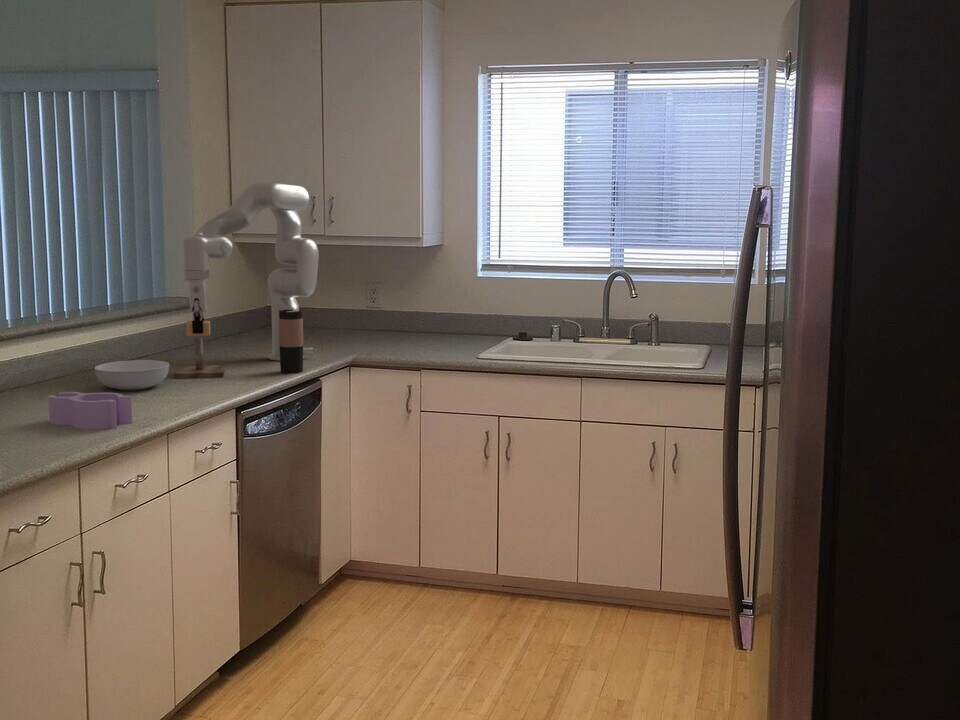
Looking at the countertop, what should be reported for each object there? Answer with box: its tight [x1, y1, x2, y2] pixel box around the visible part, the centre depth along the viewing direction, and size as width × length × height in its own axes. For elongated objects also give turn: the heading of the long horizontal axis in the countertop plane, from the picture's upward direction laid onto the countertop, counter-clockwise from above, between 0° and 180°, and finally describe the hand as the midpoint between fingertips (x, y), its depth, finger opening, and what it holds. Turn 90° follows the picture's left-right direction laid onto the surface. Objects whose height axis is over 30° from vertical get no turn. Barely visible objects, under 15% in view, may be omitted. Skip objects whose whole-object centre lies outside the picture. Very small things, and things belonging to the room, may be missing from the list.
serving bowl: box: [94, 359, 170, 391], centre depth 311 cm, size 21×21×7 cm
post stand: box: [173, 337, 226, 379], centre depth 335 cm, size 15×15×12 cm
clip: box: [48, 391, 133, 430], centre depth 262 cm, size 20×12×7 cm, turn 74°
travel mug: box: [279, 309, 304, 374], centre depth 341 cm, size 8×8×20 cm
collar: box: [185, 320, 211, 337], centre depth 334 cm, size 7×7×4 cm
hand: (198, 331), depth 334 cm, fingers closed on collar, 7 cm apart
